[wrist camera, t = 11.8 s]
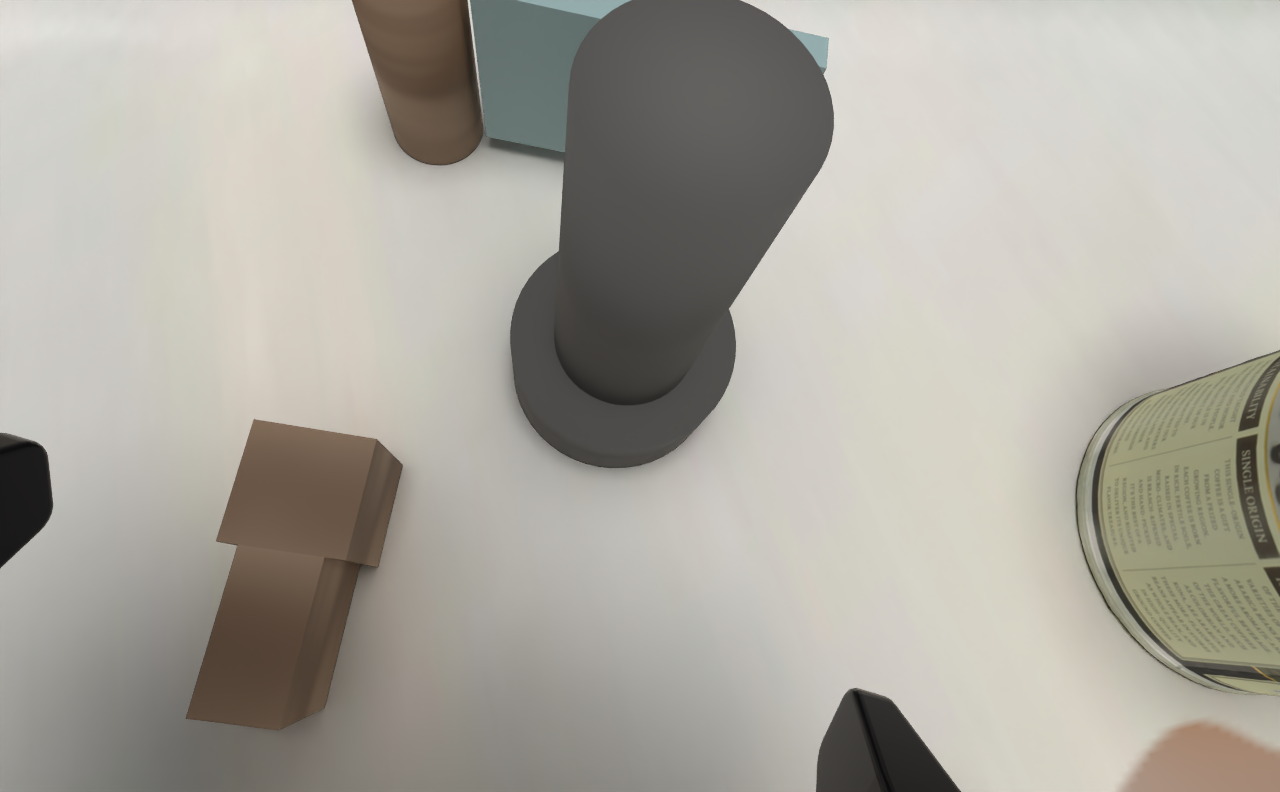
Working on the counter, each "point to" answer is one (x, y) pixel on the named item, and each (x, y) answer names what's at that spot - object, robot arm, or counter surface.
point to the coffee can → (1193, 524)
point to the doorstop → (663, 220)
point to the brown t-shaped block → (328, 435)
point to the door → (543, 63)
